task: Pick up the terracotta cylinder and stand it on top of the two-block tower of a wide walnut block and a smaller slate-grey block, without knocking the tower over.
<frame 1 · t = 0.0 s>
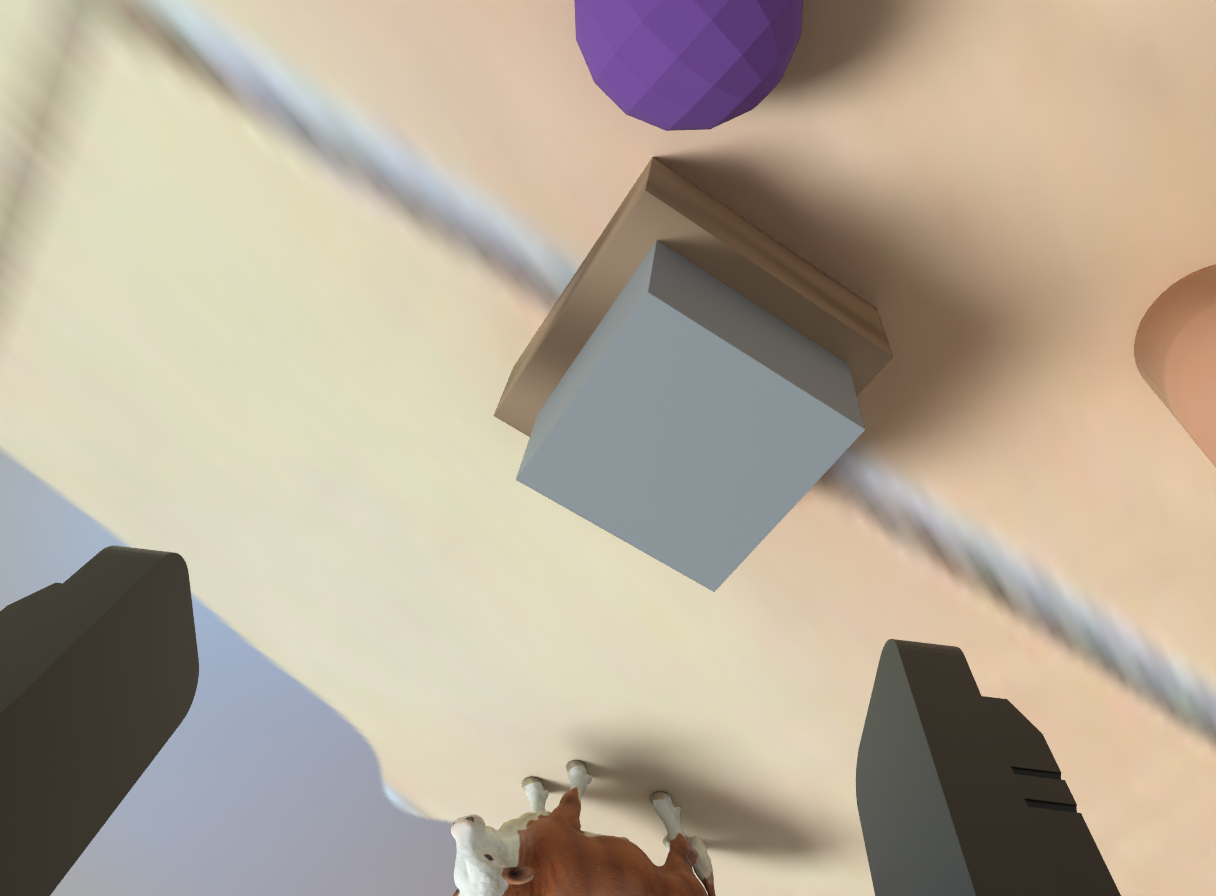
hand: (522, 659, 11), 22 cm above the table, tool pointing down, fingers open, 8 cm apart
bull figurine: (597, 785, 46), on the table
bottom block: (688, 333, 33), on the table, touching top block
top block: (688, 389, 30), point 4 cm above the table, touching bottom block
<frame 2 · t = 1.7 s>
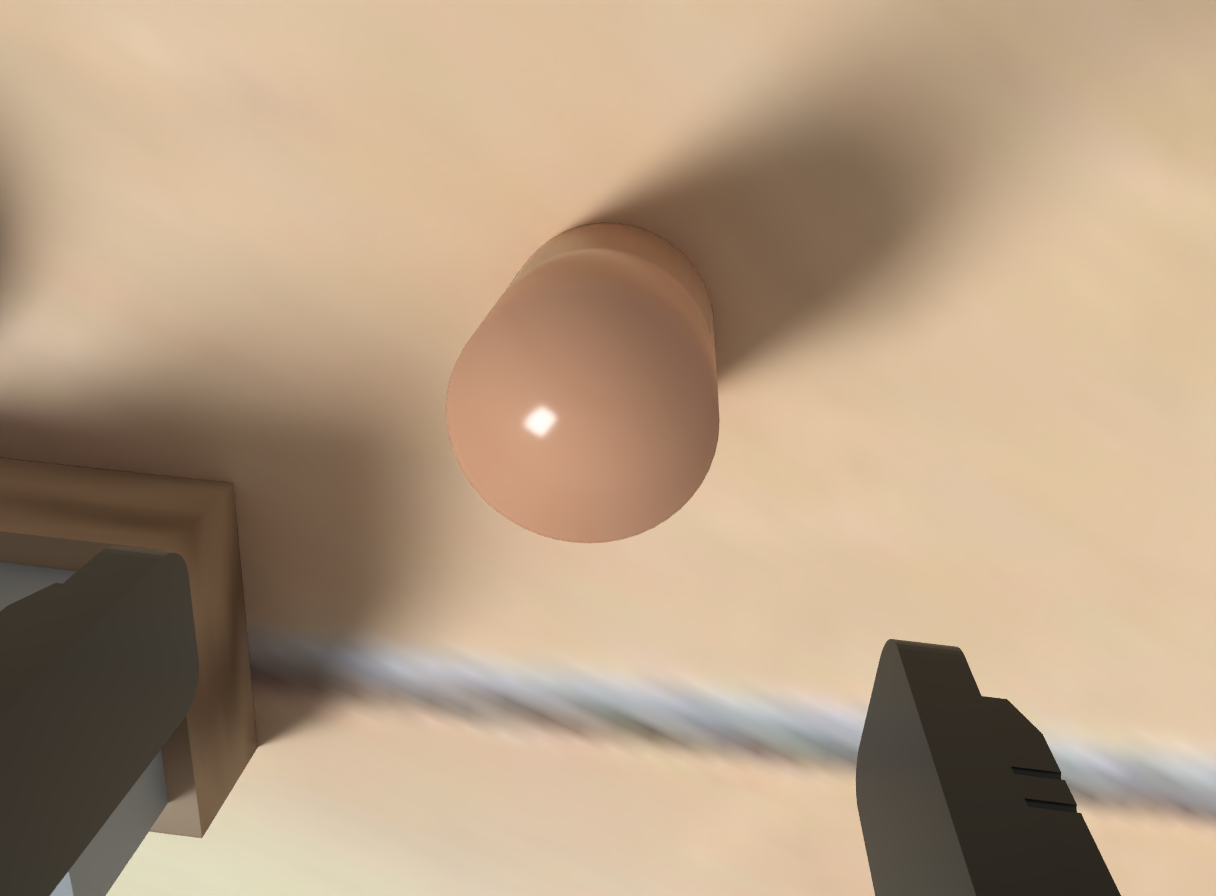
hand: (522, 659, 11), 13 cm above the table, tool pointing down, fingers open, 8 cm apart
terracotta cylinder: (608, 328, 23), on the table
bottom block: (102, 598, 28), on the table, touching top block
top block: (19, 680, 24), point 4 cm above the table, touching bottom block
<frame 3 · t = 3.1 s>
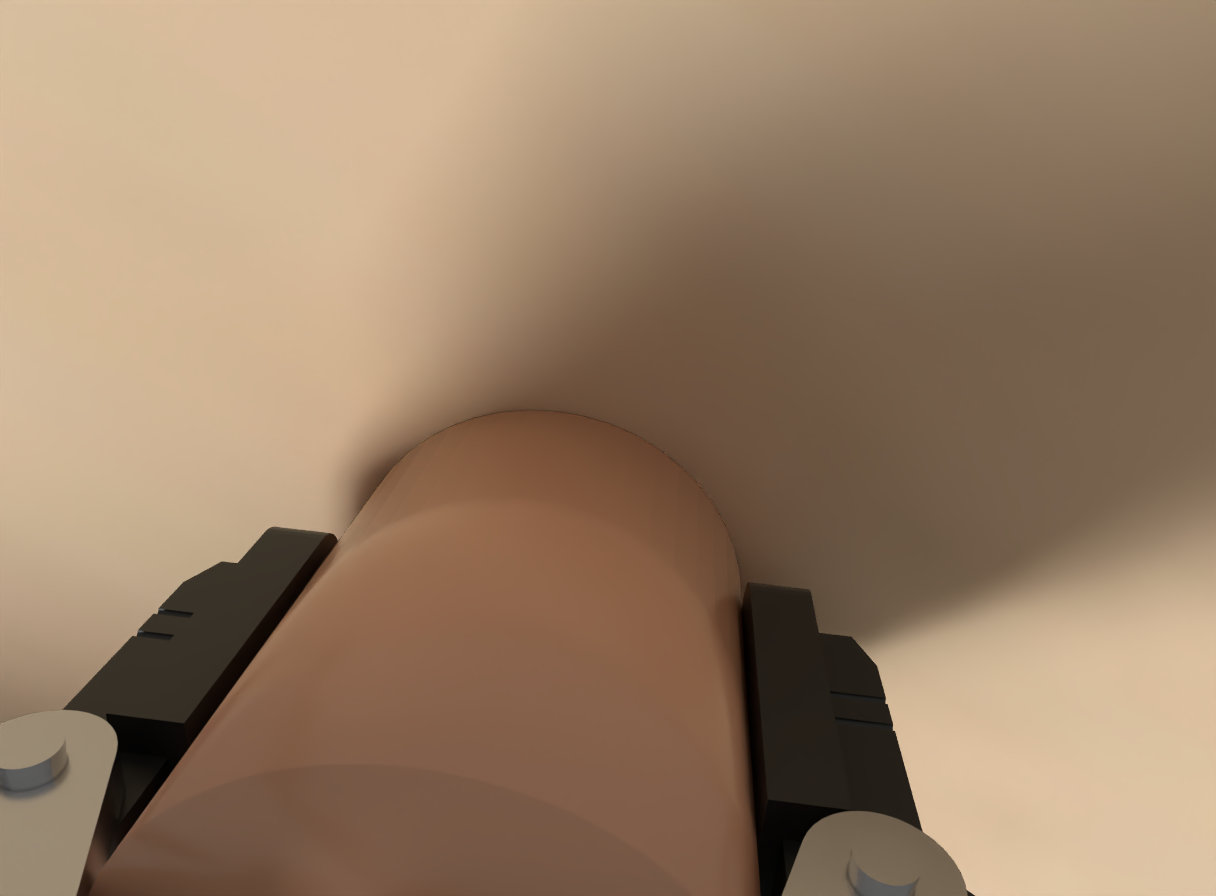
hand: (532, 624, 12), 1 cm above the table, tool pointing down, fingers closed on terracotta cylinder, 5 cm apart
terracotta cylinder: (544, 591, 12), on the table, touching gripper
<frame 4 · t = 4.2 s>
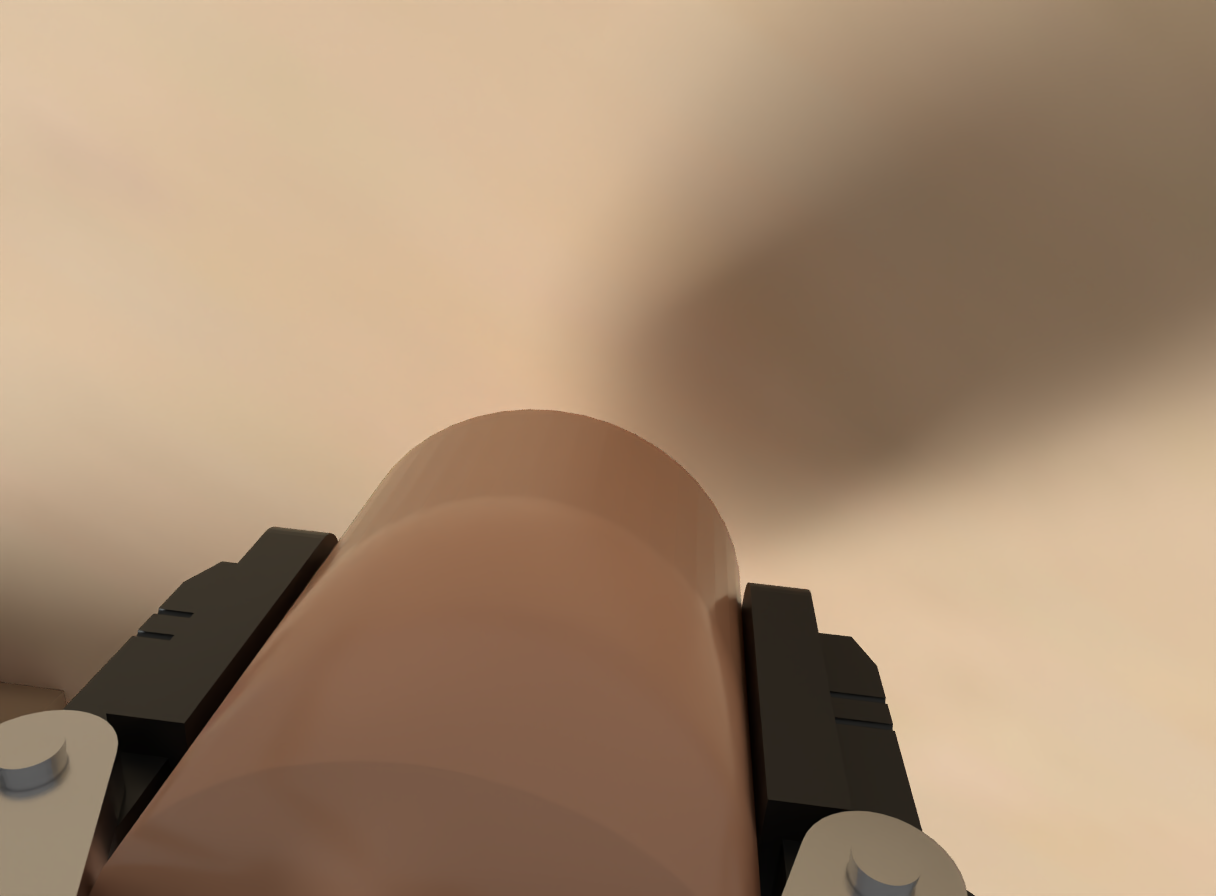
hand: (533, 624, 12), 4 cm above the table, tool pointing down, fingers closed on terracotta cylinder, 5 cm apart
terracotta cylinder: (545, 590, 12), point 3 cm above the table, touching gripper
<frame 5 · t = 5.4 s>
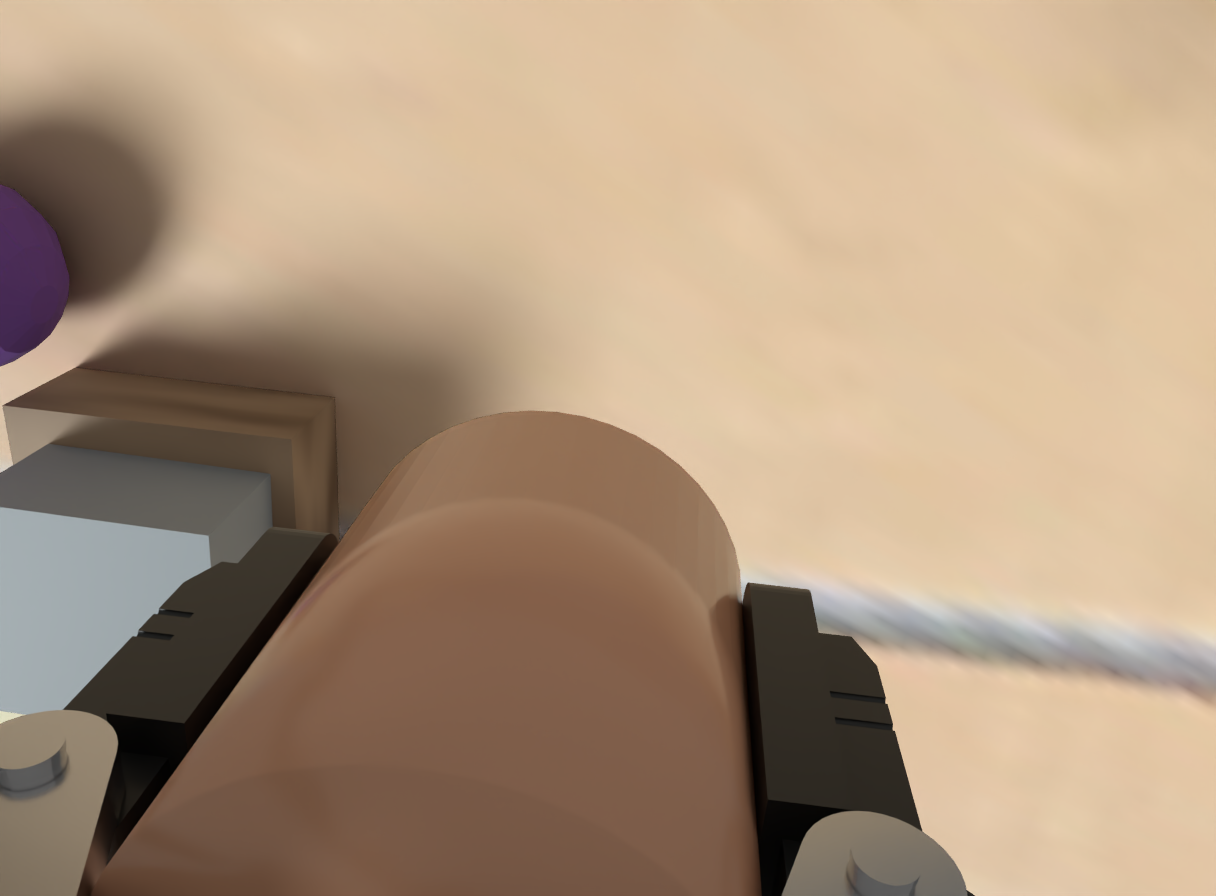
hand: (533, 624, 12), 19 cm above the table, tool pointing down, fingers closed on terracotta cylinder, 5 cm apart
terracotta cylinder: (545, 591, 12), point 18 cm above the table, touching gripper
bottom block: (219, 497, 34), on the table, touching top block
top block: (167, 557, 31), point 4 cm above the table, touching bottom block
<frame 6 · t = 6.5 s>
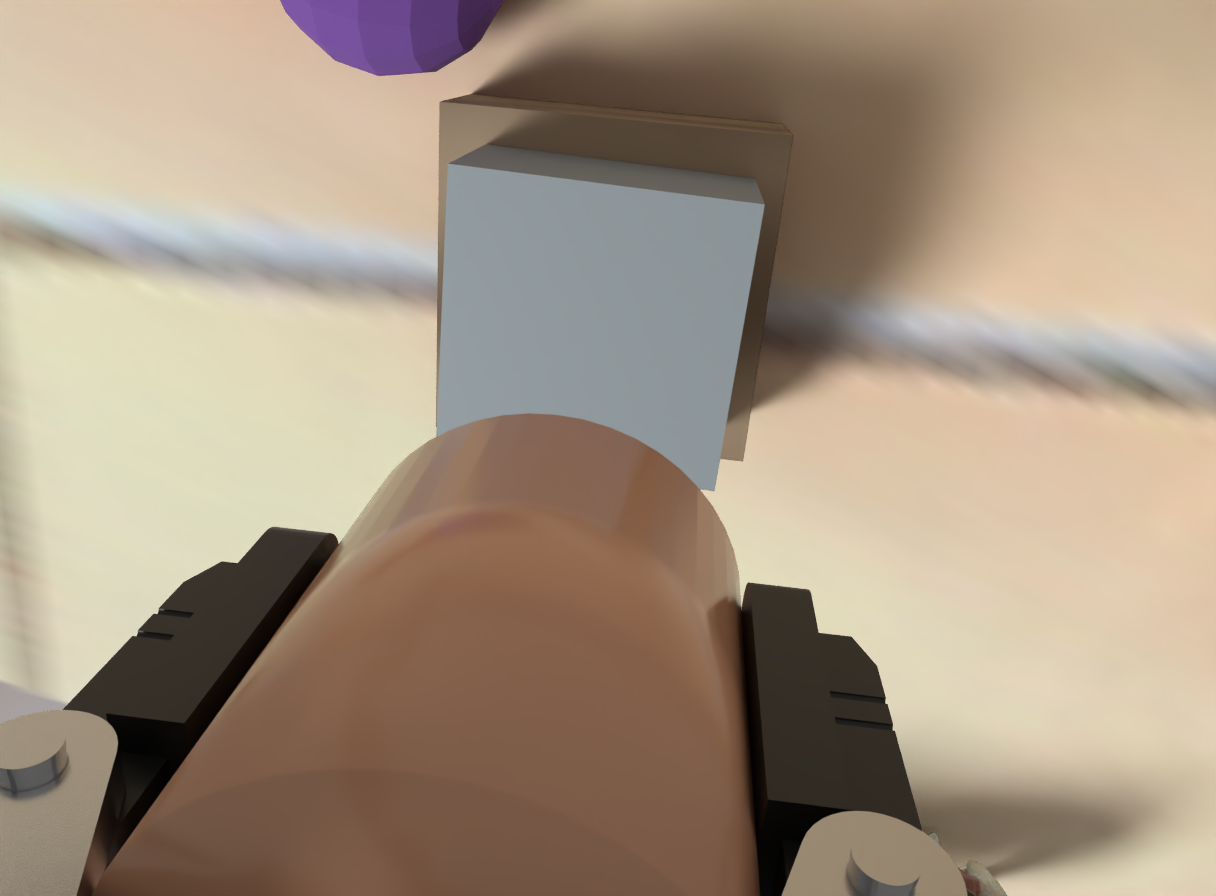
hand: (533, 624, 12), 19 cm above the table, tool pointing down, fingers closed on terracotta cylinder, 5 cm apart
terracotta cylinder: (544, 594, 12), point 18 cm above the table, touching gripper
bull figurine: (830, 845, 38), on the table
bottom block: (613, 260, 30), on the table, touching top block
top block: (604, 294, 26), point 4 cm above the table, touching bottom block
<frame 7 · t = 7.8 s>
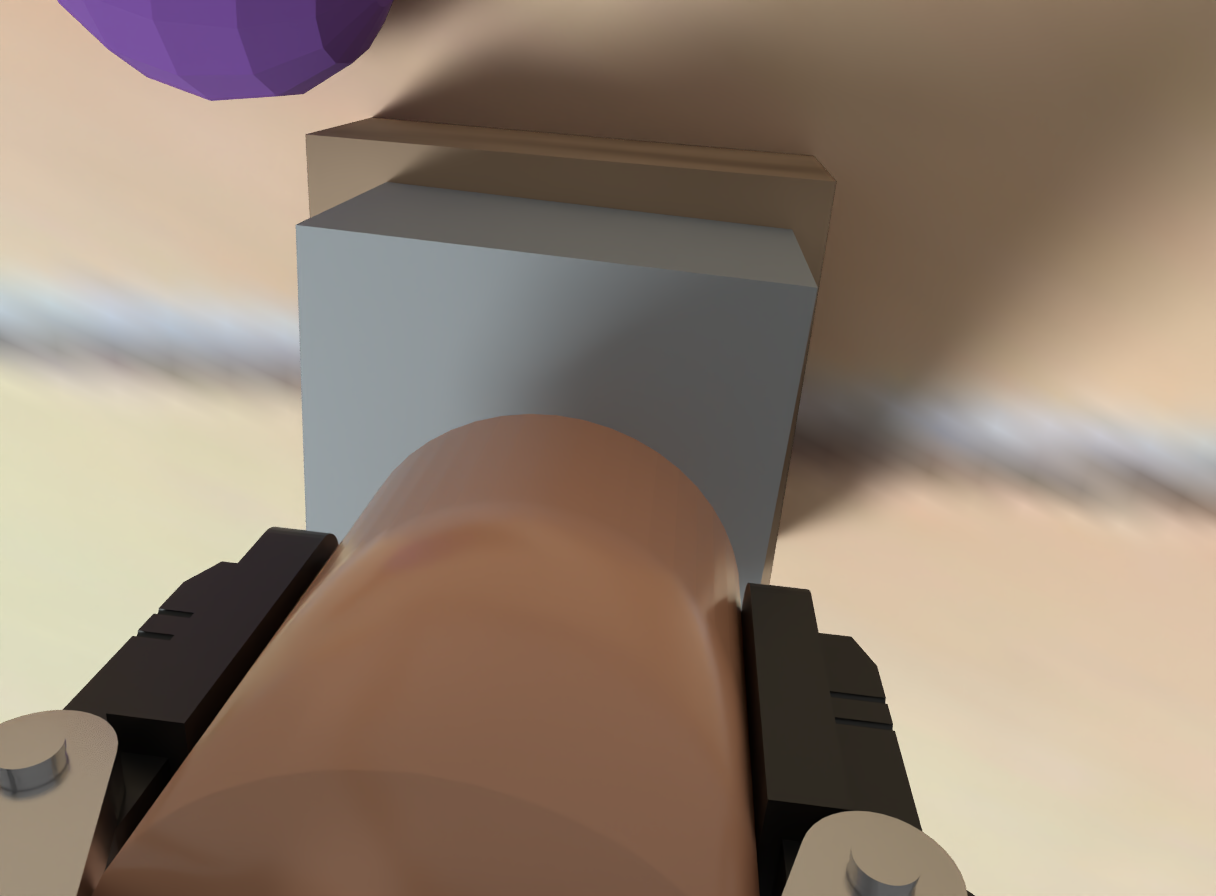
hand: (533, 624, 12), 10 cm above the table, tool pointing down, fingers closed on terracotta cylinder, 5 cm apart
terracotta cylinder: (544, 594, 12), point 10 cm above the table, touching gripper
bottom block: (579, 343, 21), on the table
top block: (570, 396, 18), point 4 cm above the table
when the fingers open (10 cm above the table, at t = 8.2 s): terracotta cylinder drops 2 cm, resting on top block.
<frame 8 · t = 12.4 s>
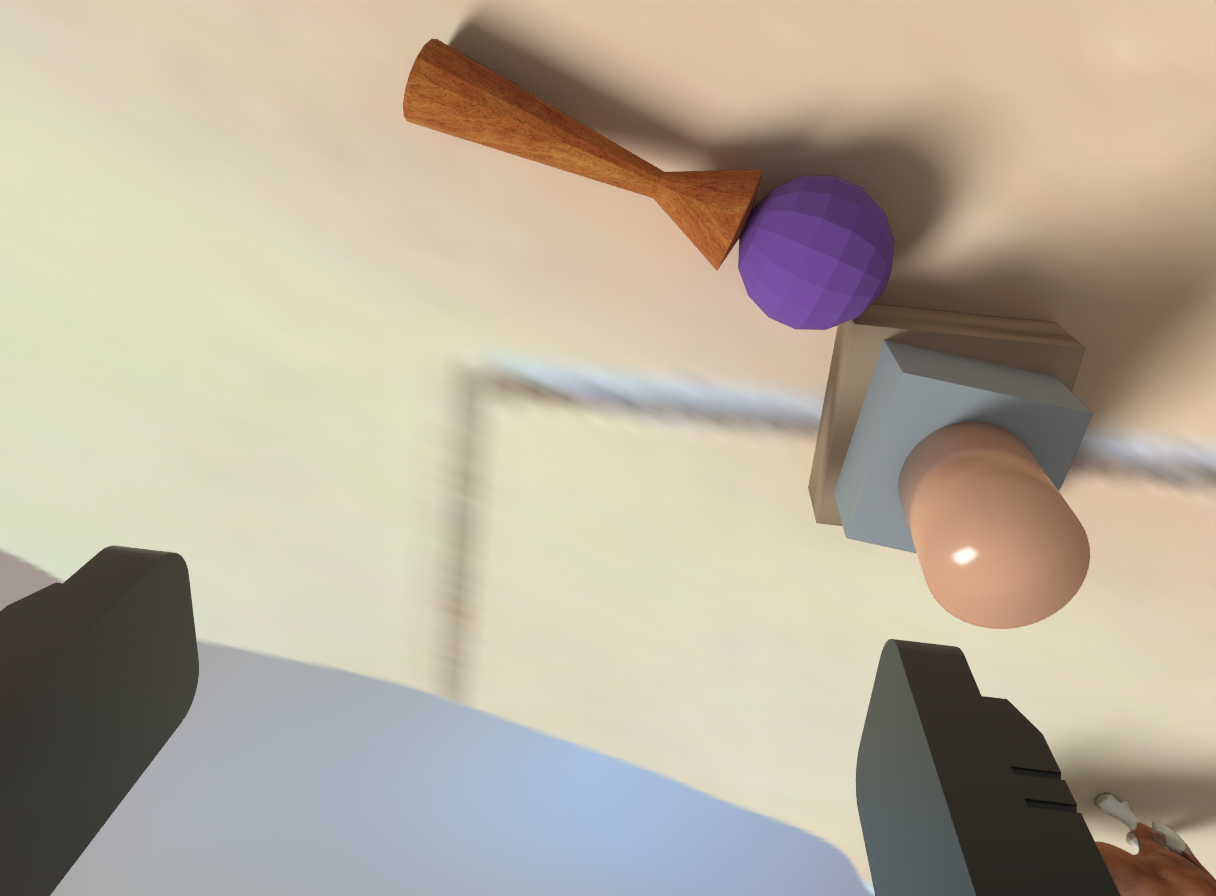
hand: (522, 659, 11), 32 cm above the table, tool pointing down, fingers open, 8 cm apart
terracotta cylinder: (967, 484, 36), point 8 cm above the table, touching top block
bull figurine: (1043, 811, 51), on the table
bottom block: (923, 405, 43), on the table, touching top block
top block: (940, 436, 39), point 4 cm above the table, touching bottom block, terracotta cylinder
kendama: (654, 173, 40), on the table
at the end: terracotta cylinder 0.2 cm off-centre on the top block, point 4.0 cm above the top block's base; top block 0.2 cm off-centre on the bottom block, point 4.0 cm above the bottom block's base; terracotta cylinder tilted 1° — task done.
